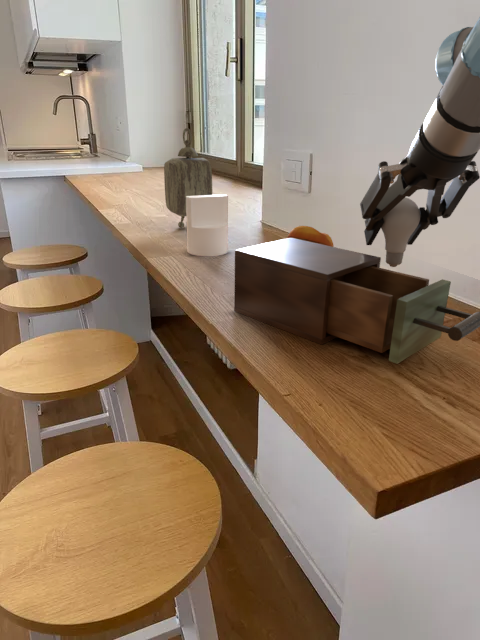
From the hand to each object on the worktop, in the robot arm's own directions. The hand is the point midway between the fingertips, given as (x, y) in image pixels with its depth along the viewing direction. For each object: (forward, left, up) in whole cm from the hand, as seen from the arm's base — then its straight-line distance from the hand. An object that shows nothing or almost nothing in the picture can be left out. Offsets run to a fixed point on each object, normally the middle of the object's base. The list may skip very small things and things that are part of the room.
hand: (388, 237), depth 81 cm
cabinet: (+2, +18, -10) cm, 21 cm away
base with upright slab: (+41, +3, -10) cm, 43 cm away
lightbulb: (-3, +2, -4) cm, 6 cm away
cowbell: (+64, -10, -10) cm, 66 cm away
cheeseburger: (+16, 0, -10) cm, 19 cm away
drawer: (-12, +18, -9) cm, 24 cm away
